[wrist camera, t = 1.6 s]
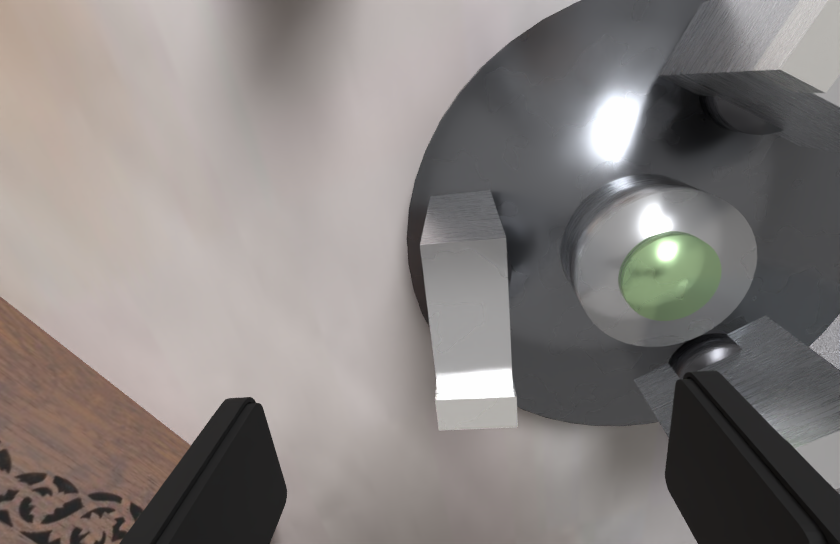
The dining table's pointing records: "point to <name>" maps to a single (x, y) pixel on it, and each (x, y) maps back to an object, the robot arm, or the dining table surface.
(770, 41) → the knob
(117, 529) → the tissue box cover
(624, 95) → the levelling plate
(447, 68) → the dining table surface
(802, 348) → the knob
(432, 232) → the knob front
